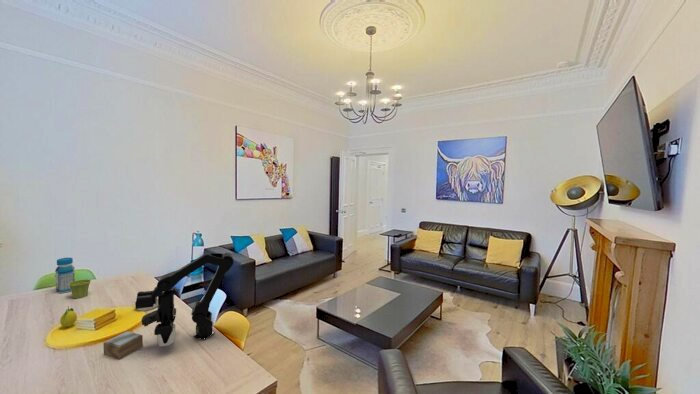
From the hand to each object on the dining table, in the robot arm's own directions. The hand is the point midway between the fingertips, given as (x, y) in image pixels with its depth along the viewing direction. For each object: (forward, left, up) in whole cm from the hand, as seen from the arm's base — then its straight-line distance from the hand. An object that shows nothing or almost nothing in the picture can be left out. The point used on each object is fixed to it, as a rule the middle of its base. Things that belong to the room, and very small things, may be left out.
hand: (166, 339), depth 120 cm
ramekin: (+39, -21, -2) cm, 44 cm away
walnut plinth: (+11, +10, -2) cm, 15 cm away
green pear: (+53, +6, -2) cm, 53 cm away
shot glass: (0, 0, -2) cm, 2 cm away
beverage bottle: (+104, -19, -2) cm, 106 cm away
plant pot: (+87, -17, -2) cm, 89 cm away
